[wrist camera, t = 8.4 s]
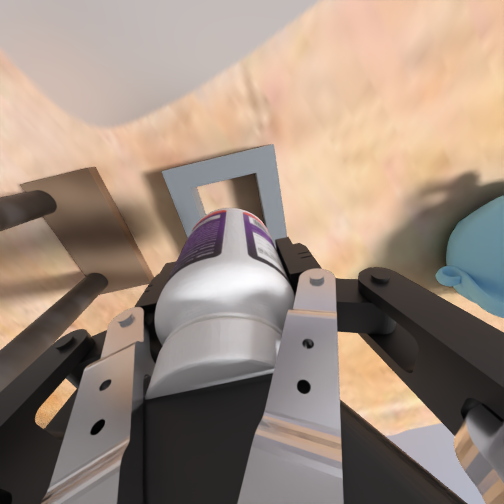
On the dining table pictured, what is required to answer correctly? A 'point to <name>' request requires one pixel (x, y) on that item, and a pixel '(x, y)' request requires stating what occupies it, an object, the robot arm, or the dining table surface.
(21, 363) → the green-topped post stand
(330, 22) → the dining table surface
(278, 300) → the pill bottle
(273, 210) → the socket
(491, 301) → the decorative pot
